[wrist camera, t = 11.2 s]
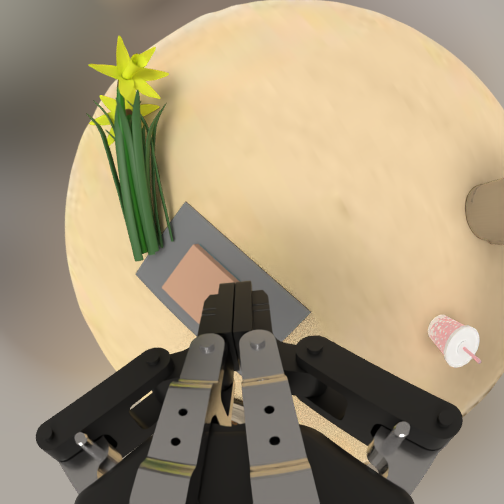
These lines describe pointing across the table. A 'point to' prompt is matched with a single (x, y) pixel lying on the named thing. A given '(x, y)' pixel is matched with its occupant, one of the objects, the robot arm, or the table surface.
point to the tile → (196, 280)
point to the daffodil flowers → (134, 147)
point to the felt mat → (239, 264)
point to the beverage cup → (454, 340)
